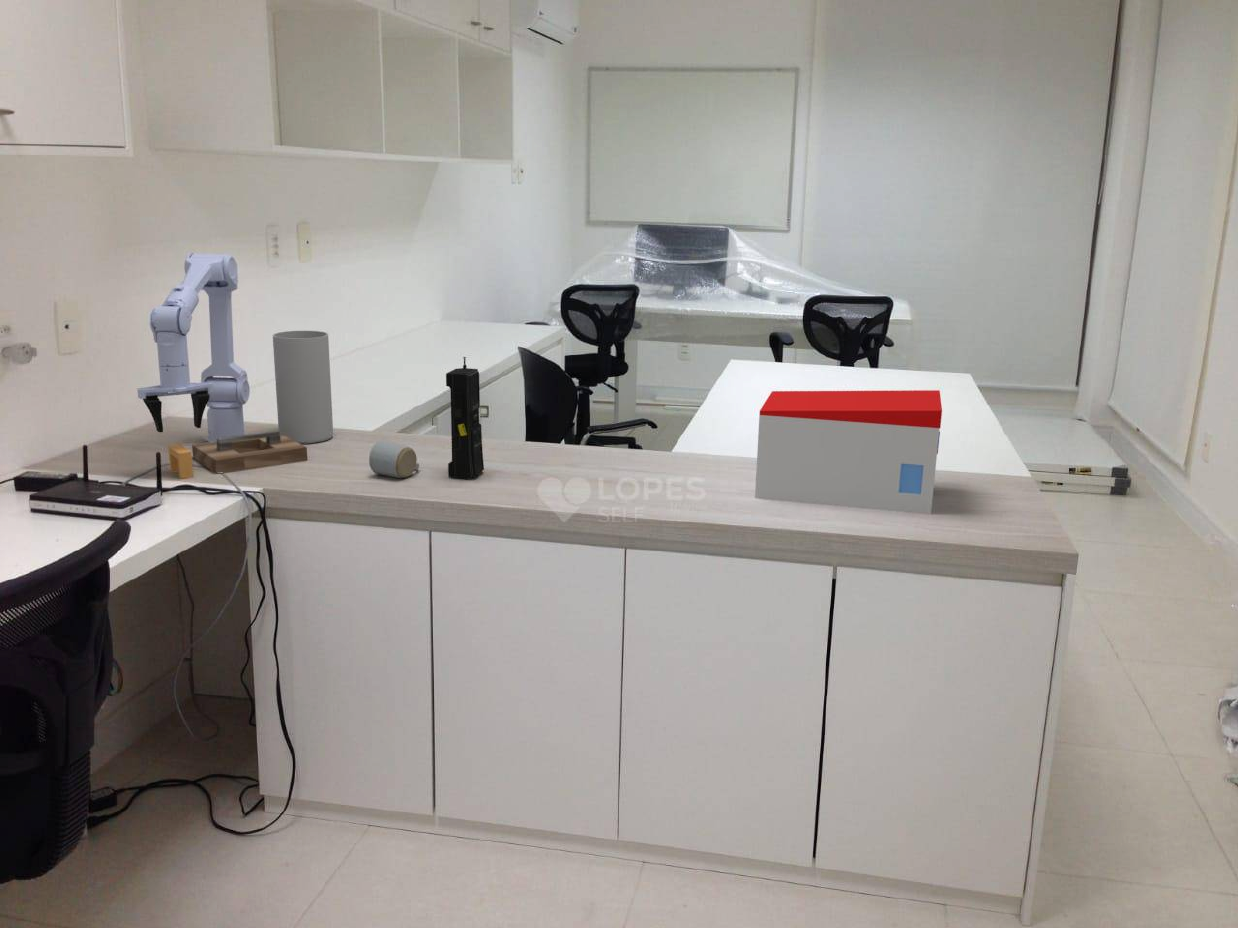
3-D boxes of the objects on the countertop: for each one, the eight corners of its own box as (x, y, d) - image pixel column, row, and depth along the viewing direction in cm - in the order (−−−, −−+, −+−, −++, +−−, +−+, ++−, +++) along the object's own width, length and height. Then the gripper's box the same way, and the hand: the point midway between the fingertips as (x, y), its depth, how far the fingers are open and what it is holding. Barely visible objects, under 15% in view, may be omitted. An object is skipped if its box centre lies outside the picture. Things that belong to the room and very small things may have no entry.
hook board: (193, 457, 244) (190, 433, 243) (280, 445, 256) (279, 422, 255) (216, 474, 232) (214, 448, 231) (307, 460, 244) (306, 436, 242)
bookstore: (933, 514, 215) (943, 410, 209) (754, 498, 223) (760, 397, 218) (931, 486, 234) (940, 390, 229) (767, 472, 243) (772, 379, 237)
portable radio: (473, 481, 230) (471, 364, 224) (446, 479, 231) (443, 362, 225) (485, 471, 238) (483, 357, 231) (458, 469, 239) (456, 356, 232)
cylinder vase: (268, 441, 260) (261, 336, 253) (302, 430, 271) (296, 329, 264) (311, 447, 255) (305, 340, 249) (343, 435, 266) (339, 333, 260)
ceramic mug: (398, 482, 229) (398, 448, 227) (368, 477, 232) (367, 443, 230) (428, 472, 238) (427, 438, 236) (399, 466, 241) (398, 434, 239)
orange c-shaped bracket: (170, 470, 234) (168, 445, 232) (182, 469, 235) (180, 444, 234) (181, 479, 228) (178, 453, 226) (193, 477, 229) (191, 451, 228)
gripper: (142, 370, 218) (148, 436, 222) (215, 364, 227) (220, 428, 230) (132, 365, 224) (138, 430, 227) (204, 360, 232) (209, 422, 236)
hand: (178, 429), depth 229 cm, fingers open, 7 cm apart
